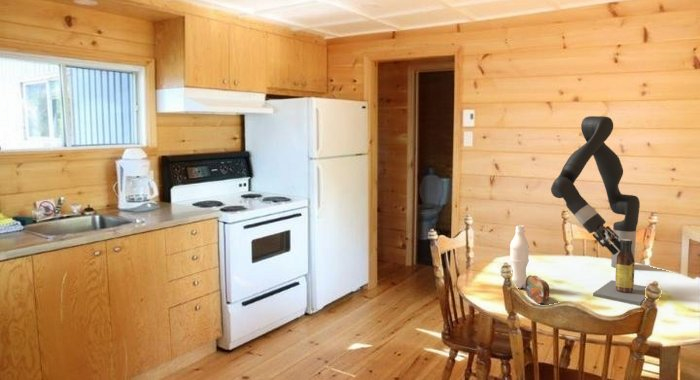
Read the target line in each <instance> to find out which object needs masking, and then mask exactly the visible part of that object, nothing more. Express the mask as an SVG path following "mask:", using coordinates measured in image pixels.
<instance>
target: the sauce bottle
mask: <svg viewBox="0 0 700 380" xmlns="http://www.w3.org/2000/svg"><path fill="white" fill-rule="evenodd" d="M620 244H621V246H620V252H619V254H618V255H617V262H616V268H615V280H614V281H615V286H616V290H617V291H620V292H632V291H633V287H634V284H635V263H636V262H635V259H634V257H633V254H632V250H631V245H632V240H630V239H620Z"/></svg>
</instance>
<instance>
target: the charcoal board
mask: <svg viewBox="0 0 700 380" xmlns="http://www.w3.org/2000/svg"><path fill="white" fill-rule="evenodd" d="M615 281H616V280H609V281H608V282H607V283H606V284H604V285H603V286H601V287H599V288H598V289H597V290H595V291H594V292H593V293H592V297H596V298H600V299H606V300H610V301H616V302H620V303H624V304H625V303H626V304H630V305H636V306H639V307H640V306H641V305H643V304H644V302H645V301H644V300H645V298H646V297H645V288H646V287H647V286H645V285H641V284H635V283H634V287H633V291H632V292H620V291H617V290H616V286H615ZM643 301H644V302H643Z"/></svg>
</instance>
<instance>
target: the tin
mask: <svg viewBox="0 0 700 380" xmlns="http://www.w3.org/2000/svg"><path fill="white" fill-rule="evenodd" d="M525 286H526V288H525V292H526V295H527V297H528V298H530V299H531V300H533V301H534V302H535V303H537V304H547V303H548V302H549V299H550V291H551V289H550V285H549V284H548V282H547V281H546V280H544V279H542V278H541V277H539V276H537V275H531V274H530V275H529V274H528V276H527V279H526V285H525Z"/></svg>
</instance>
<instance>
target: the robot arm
mask: <svg viewBox="0 0 700 380" xmlns="http://www.w3.org/2000/svg"><path fill="white" fill-rule="evenodd" d="M580 126H581V127H580V128H581V132H582V136H583V138H584V140H585V141H586V142H585V144H583V145H581V146H579V148H578V149H577V150H575V151H574V152H573V153H572V154H571V155H570V156H569V157H568V159H567V160H566V162H565V163H564V165H563V167H562V169H561V171H560V173H559V175H558V177H556V179H554V181H553V183H552V184H551V187H550V191H551V195H552V196H553V197H554V198H557V199H563V200H564V202H565V206H566V207H567V208H568V210H569V211H570V212H571V213H572V214H573V216H574V217H575V218H576V220H577V222H579V224H580V225H582V227H583V228H584V229H585V230H586V231H587V232H588V233H589V234H591V235H592V236H593V238H594V239H595V240H596V241H597V242H598V244H599V245H600V246H601V247H602V248H606V249H607V250H608V251H609V252H610V253H611V264H610V265H611V267H613V268H614V269H616V262H617V255H618V254H619V252H620V246H621V244H620V239H630V240H632V245H631V250H632V254H633V257H634V260H635V258H636V257H635V256H636V239H637V227H638V223H639V216H640V215H639V214H640V207H641V206H640V204H641V203H640V199H639V197H638V196H636V195H632V194H622V193H621V191H620V189H619V184H620V183H621V182H620V181H622V177H623V175H624V168H623V165H622V163H621V160H620V157H619V156H618V155H617V154H616V152H615V151H614V150H612V149H611V148H610V147H609V146H608V145H607V144H606V143H605V141H606V140H607V139H608V138H609V137H610V136H611V134H612V132H613V129H614V121H613V119H612V118H611V117H609V116H604V115H603V116H602V115H601V116H599V115H598V116H596V115H595V116H594V115H591V116H586V117H584V118H583V119H582V122H581V124H580ZM592 157H593V158H594V161H595V164H596V166H597V167H596V168H597V170H598V172H599V175H600V177H601V179H602V182H603V186H604V189H605V192H606V196H607V200H608V204H609V207H610V210H611V211H612V212H613V213H614V214H617V215H622V216H624V218H623V220H621V221H615V222H614V223H613V225H612V226H613V227H612V228H613V229H612V228H611V227H610V226H608V225H607V226H604V225H605V224H606V220H605V219H604V218H603V217H602V216H601V215H600V214H599V212H598V211H596V209H595V208H594V207H592V206H591V205H590V203H589V202H587V201H586V199H585V198H584V197H583V196H582V195H581V194H580V192H579V191H578V188H577V187H576V186H575V182H576V180H577V179H578V177H580V175H581V173H582V171H583V169H584V168H585V166H587V164H588V162H589V161H590V159H591V158H592Z"/></svg>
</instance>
